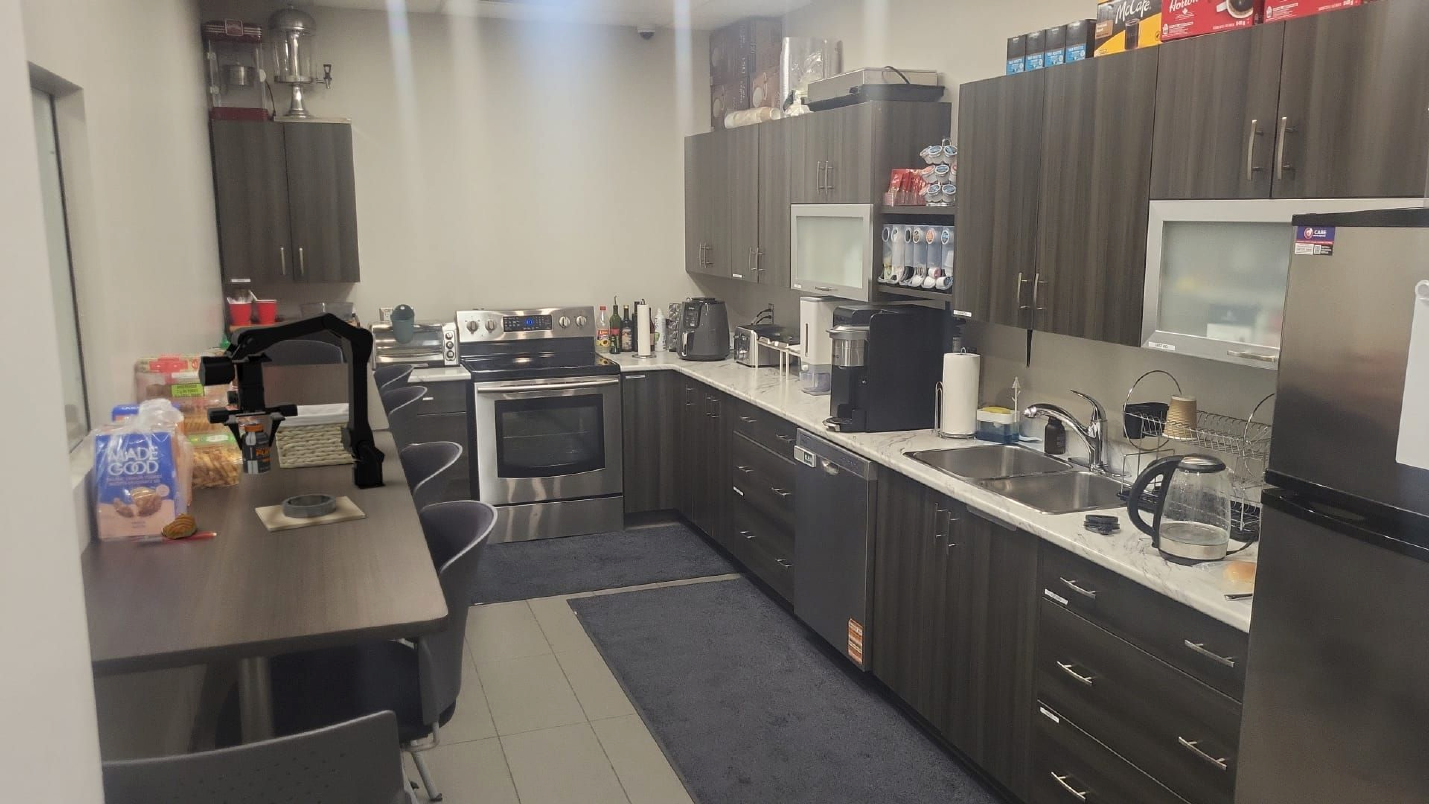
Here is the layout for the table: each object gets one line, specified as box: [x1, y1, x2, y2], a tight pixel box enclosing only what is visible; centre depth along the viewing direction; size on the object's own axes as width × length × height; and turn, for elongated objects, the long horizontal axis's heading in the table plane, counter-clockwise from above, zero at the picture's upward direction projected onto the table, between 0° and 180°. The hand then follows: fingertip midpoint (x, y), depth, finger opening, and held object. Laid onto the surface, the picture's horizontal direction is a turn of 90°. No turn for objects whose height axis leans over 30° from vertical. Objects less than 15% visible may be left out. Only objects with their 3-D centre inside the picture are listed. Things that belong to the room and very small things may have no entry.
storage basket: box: [275, 402, 356, 469], centre depth 284 cm, size 24×16×15 cm
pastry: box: [163, 512, 197, 540], centre depth 219 cm, size 9×7×4 cm
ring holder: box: [255, 493, 366, 533], centre depth 234 cm, size 20×18×3 cm
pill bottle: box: [240, 422, 272, 475], centre depth 241 cm, size 6×6×11 cm
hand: (255, 448), depth 242 cm, fingers closed on pill bottle, 6 cm apart
